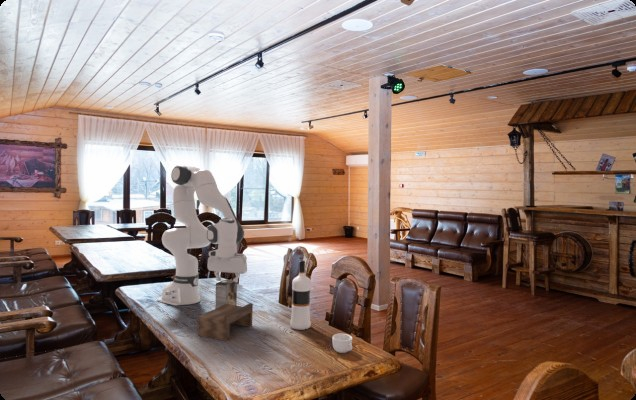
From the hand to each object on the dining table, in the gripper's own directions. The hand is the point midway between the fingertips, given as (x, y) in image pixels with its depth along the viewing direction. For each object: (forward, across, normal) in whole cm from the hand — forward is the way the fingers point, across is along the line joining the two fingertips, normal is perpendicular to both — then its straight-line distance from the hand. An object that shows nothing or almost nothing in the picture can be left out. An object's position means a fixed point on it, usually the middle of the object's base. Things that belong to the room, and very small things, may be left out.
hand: (227, 281), depth 201 cm
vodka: (+17, -38, 0) cm, 42 cm away
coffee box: (+16, +1, 0) cm, 17 cm away
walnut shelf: (+17, -11, +18) cm, 27 cm away
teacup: (+18, -64, +18) cm, 69 cm away
